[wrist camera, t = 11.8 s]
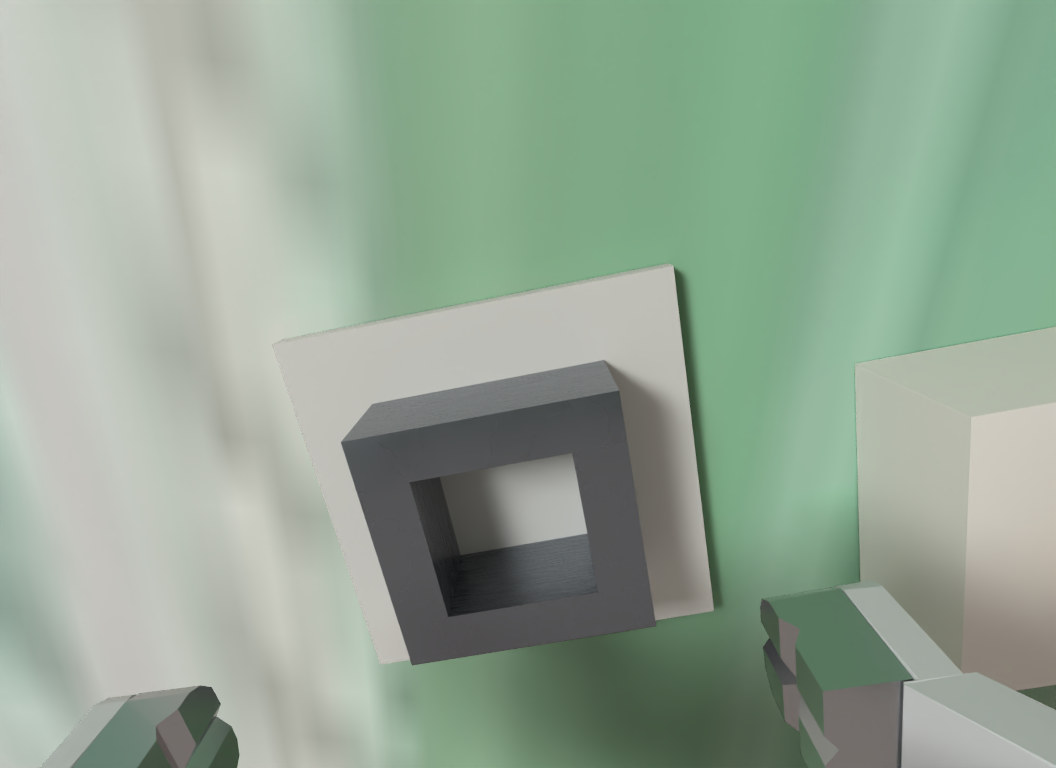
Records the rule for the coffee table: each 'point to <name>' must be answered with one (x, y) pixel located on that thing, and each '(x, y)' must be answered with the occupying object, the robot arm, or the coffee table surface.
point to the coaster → (532, 486)
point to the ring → (518, 571)
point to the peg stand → (965, 498)
